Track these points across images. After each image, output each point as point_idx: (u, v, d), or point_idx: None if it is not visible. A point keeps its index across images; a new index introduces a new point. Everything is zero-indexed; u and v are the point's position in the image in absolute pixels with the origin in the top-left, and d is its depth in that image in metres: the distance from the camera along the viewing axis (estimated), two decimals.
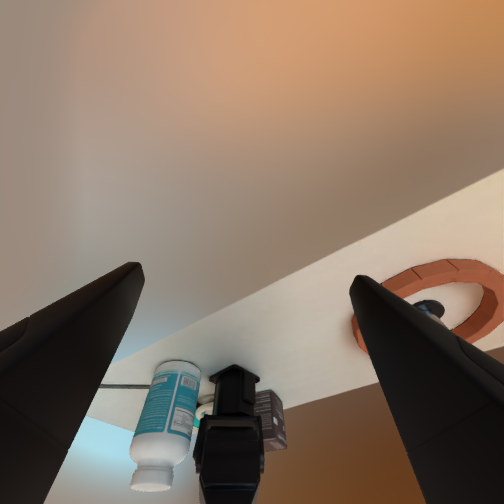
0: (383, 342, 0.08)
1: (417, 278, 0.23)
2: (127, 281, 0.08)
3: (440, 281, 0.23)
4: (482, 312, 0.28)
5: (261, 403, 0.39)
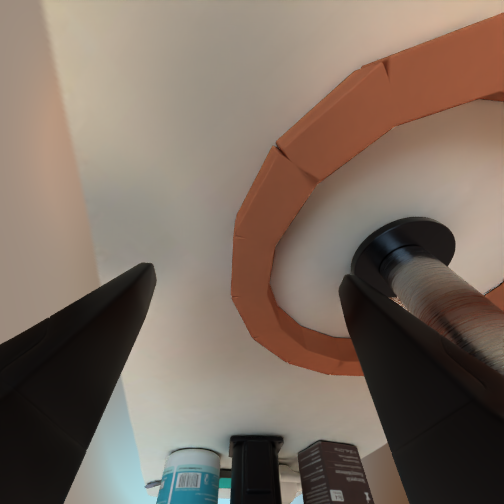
0: (370, 341, 0.08)
1: None
2: (141, 282, 0.08)
3: (284, 206, 0.08)
4: None
5: (314, 466, 0.27)
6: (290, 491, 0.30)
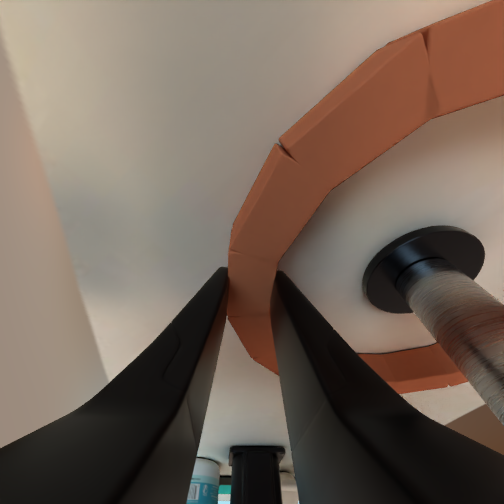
0: None
1: (229, 253, 0.08)
2: (227, 286, 0.08)
3: (289, 217, 0.07)
4: None
5: None
6: (292, 500, 0.30)
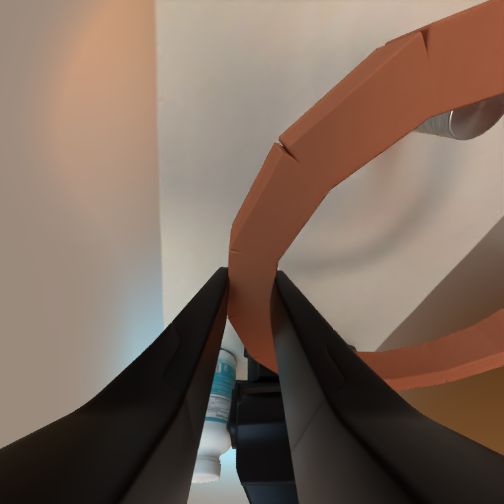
0: None
1: None
2: None
3: (289, 216, 0.07)
4: None
5: None
6: None
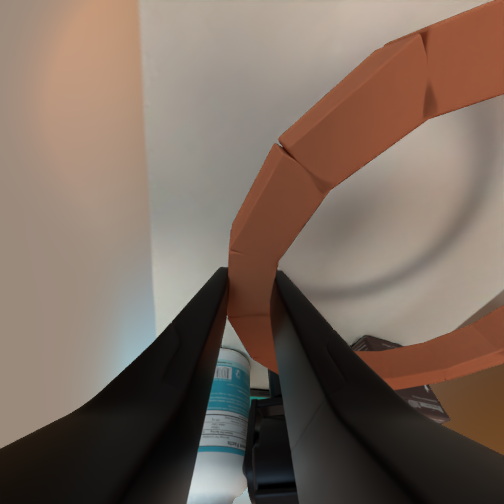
0: None
1: None
2: (227, 286, 0.08)
3: (289, 217, 0.07)
4: None
5: None
6: None
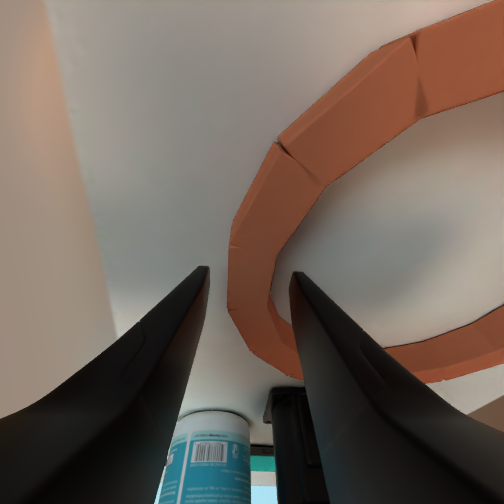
0: (307, 339, 0.07)
1: None
2: (204, 285, 0.08)
3: (287, 212, 0.07)
4: None
5: None
6: None
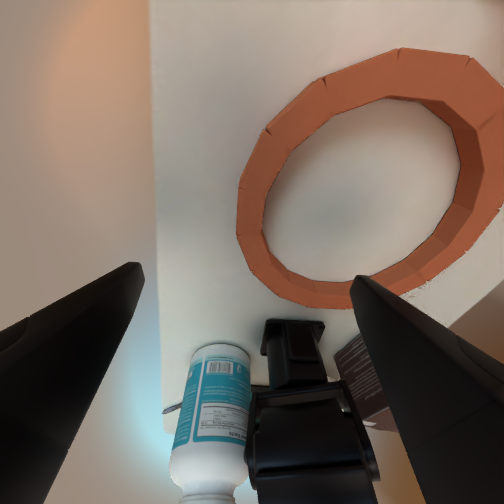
0: (383, 342, 0.08)
1: None
2: (127, 281, 0.08)
3: (270, 167, 0.13)
4: (460, 132, 0.13)
5: (357, 356, 0.24)
6: None
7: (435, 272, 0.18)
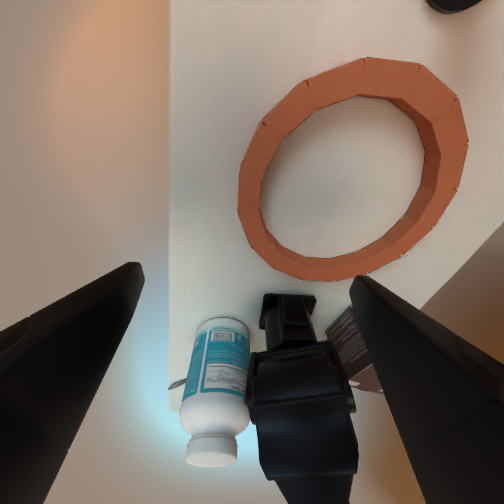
0: (383, 342, 0.08)
1: (239, 172, 0.17)
2: (127, 281, 0.08)
3: (266, 152, 0.16)
4: (420, 124, 0.16)
5: (345, 328, 0.27)
6: None
7: (408, 246, 0.21)
